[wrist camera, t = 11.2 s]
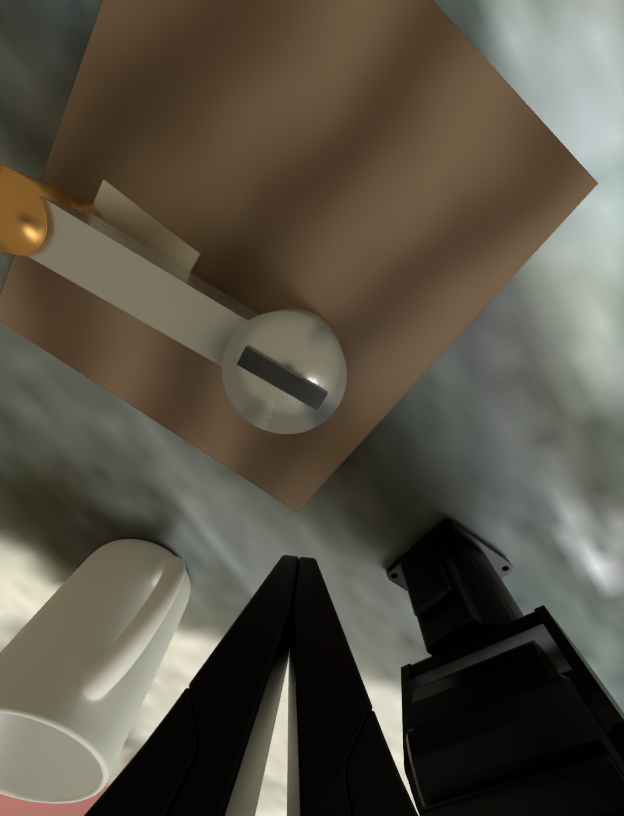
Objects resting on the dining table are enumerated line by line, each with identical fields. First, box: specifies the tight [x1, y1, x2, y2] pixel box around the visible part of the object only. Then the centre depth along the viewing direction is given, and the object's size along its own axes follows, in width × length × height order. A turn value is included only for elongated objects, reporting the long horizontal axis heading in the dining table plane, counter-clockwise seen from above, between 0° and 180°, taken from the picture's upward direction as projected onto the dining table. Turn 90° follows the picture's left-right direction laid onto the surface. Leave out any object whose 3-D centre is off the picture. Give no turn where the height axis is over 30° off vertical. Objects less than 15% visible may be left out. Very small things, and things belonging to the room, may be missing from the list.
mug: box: [0, 539, 191, 803], centre depth 19 cm, size 12×8×10 cm
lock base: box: [0, 0, 598, 512], centre depth 15 cm, size 20×22×2 cm
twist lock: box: [0, 165, 347, 434], centre depth 13 cm, size 15×5×4 cm, turn 59°
